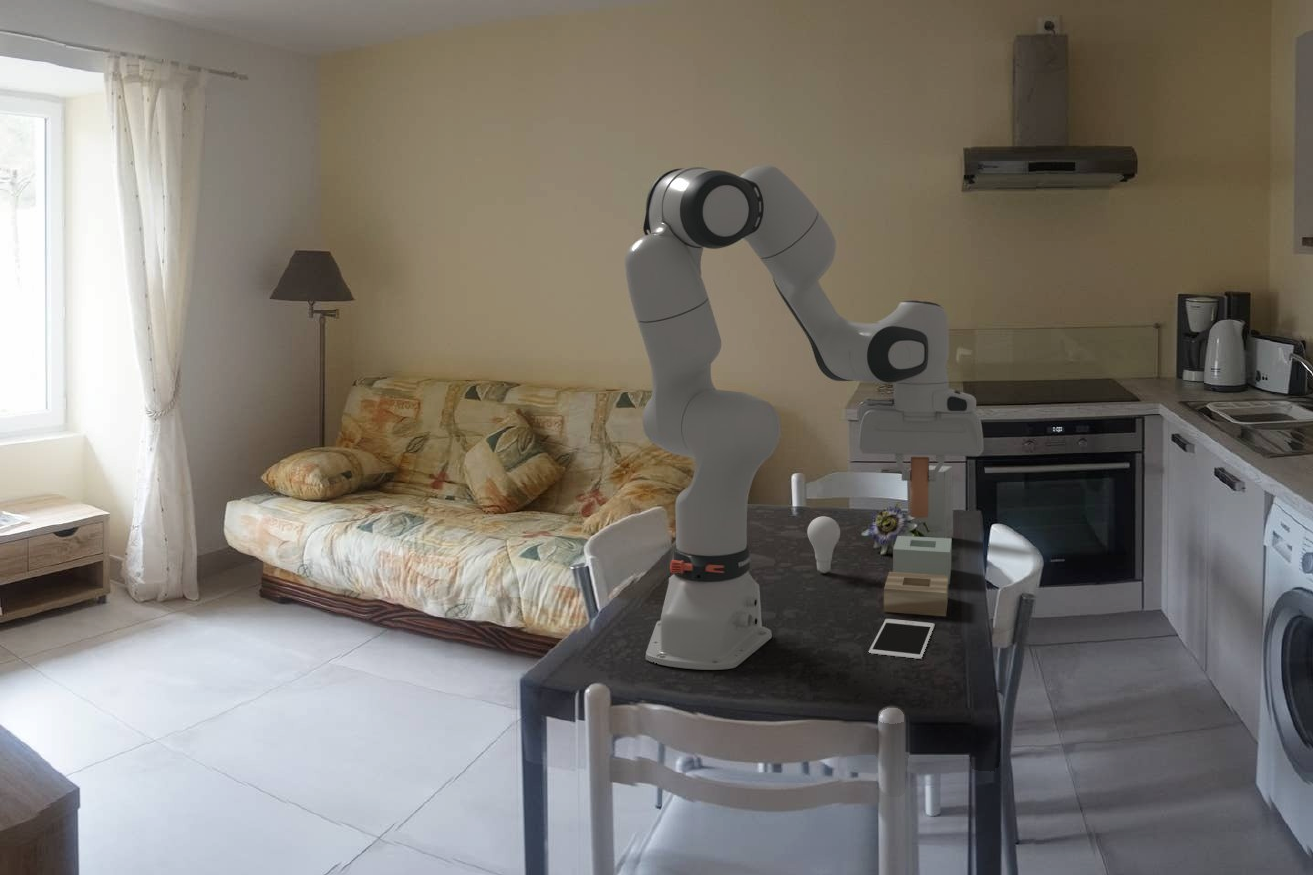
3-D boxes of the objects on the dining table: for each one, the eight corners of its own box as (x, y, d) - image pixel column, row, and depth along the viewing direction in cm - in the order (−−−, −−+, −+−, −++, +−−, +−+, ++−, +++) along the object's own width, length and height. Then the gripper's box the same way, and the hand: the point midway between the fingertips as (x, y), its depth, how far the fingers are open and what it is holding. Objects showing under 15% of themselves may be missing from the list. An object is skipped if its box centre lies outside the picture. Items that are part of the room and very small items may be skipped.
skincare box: (953, 537, 212) (955, 466, 209) (944, 545, 206) (946, 471, 204) (915, 533, 216) (916, 463, 214) (905, 540, 210) (906, 468, 208)
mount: (945, 616, 163) (946, 592, 162) (883, 611, 166) (883, 588, 165) (947, 597, 172) (948, 575, 171) (888, 593, 175) (889, 571, 174)
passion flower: (884, 580, 201) (849, 532, 202) (903, 558, 209) (870, 511, 210) (927, 557, 194) (891, 507, 195) (945, 535, 202) (910, 487, 203)
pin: (928, 518, 166) (928, 459, 164) (909, 517, 167) (910, 459, 165) (929, 514, 169) (929, 456, 167) (910, 513, 170) (911, 456, 168)
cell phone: (935, 626, 159) (935, 623, 159) (921, 662, 144) (921, 658, 144) (885, 621, 162) (885, 618, 162) (867, 656, 147) (867, 652, 147)
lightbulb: (839, 578, 185) (839, 520, 183) (806, 577, 186) (806, 520, 184) (840, 569, 191) (840, 513, 189) (808, 568, 192) (808, 512, 190)
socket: (949, 584, 179) (950, 552, 178) (892, 580, 183) (893, 549, 182) (951, 569, 189) (951, 538, 188) (897, 565, 192) (897, 535, 191)
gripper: (855, 400, 165) (854, 482, 167) (984, 401, 158) (982, 486, 161) (859, 396, 171) (859, 474, 173) (984, 397, 164) (982, 478, 166)
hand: (919, 480), depth 167 cm, fingers closed on pin, 3 cm apart
